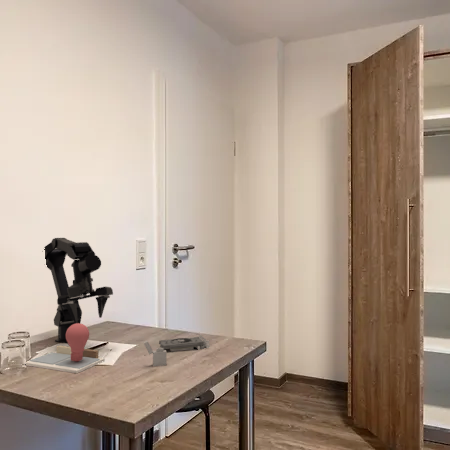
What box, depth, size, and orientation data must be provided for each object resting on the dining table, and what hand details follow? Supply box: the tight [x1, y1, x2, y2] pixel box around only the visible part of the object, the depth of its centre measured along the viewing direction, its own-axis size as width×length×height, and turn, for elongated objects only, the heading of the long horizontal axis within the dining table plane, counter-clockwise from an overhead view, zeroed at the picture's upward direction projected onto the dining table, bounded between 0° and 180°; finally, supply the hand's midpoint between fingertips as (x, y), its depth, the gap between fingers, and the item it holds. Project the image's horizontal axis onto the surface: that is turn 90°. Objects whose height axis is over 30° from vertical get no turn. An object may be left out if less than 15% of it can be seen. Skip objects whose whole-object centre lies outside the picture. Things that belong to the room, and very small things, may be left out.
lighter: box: [143, 339, 167, 367], centre depth 143 cm, size 7×2×8 cm, turn 105°
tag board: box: [25, 345, 105, 374], centre depth 145 cm, size 21×13×3 cm, turn 67°
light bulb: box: [66, 322, 90, 362], centre depth 143 cm, size 7×7×12 cm
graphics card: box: [158, 333, 211, 352], centre depth 164 cm, size 17×4×12 cm
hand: (88, 320), depth 159 cm, fingers open, 9 cm apart
